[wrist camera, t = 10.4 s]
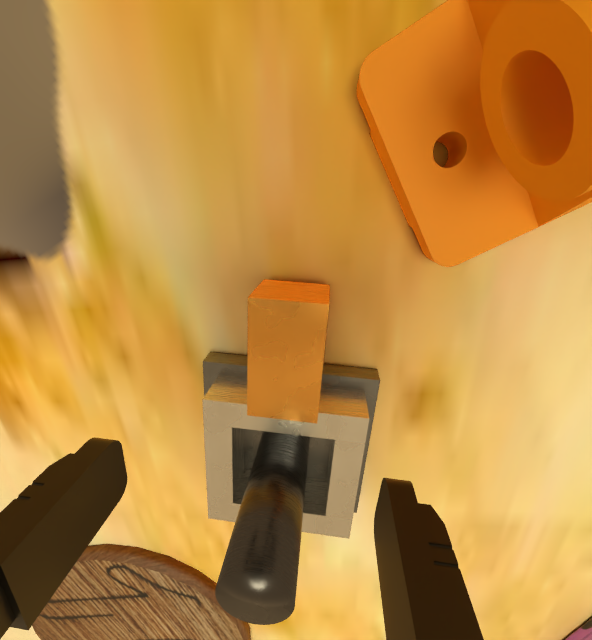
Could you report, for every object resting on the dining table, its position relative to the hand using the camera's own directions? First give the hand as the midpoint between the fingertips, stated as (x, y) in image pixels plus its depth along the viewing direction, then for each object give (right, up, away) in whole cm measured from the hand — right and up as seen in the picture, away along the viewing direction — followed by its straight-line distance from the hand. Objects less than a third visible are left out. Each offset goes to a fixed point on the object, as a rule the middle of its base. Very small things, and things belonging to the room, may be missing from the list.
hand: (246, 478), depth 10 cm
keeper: (+1, -4, +15) cm, 16 cm away
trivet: (-16, -29, +27) cm, 43 cm away
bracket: (+10, +14, +8) cm, 19 cm away
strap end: (+1, -1, +13) cm, 13 cm away
